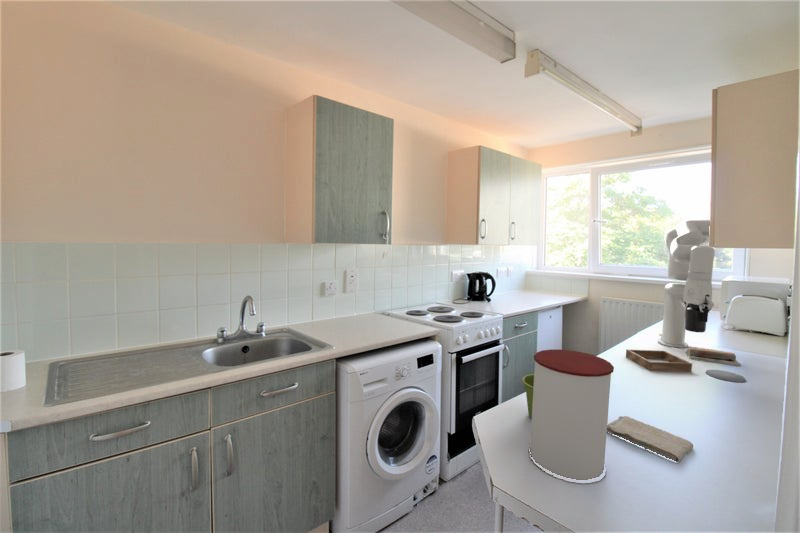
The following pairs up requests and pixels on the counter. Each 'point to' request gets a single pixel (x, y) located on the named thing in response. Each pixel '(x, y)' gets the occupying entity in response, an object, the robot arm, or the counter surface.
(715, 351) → the packaged product
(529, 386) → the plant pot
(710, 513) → the counter surface
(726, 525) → the counter surface
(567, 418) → the container
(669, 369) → the bin
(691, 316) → the supplement bottle
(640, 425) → the washcloth
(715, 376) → the mat
